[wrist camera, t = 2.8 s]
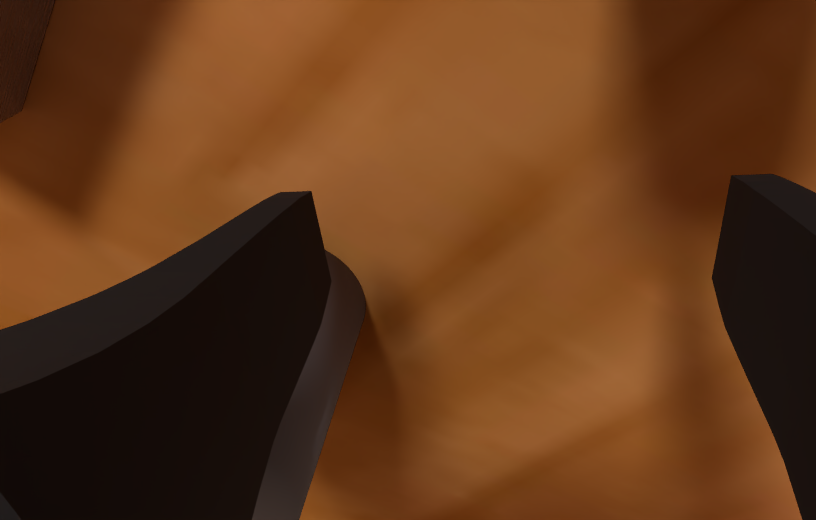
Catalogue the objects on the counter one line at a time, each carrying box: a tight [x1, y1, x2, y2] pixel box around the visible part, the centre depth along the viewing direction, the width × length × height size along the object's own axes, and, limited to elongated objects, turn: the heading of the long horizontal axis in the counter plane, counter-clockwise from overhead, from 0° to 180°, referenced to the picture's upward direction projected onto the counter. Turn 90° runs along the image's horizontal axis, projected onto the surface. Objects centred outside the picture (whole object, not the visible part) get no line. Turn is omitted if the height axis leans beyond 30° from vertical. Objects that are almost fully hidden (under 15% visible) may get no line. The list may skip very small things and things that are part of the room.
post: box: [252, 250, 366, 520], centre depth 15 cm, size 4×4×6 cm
